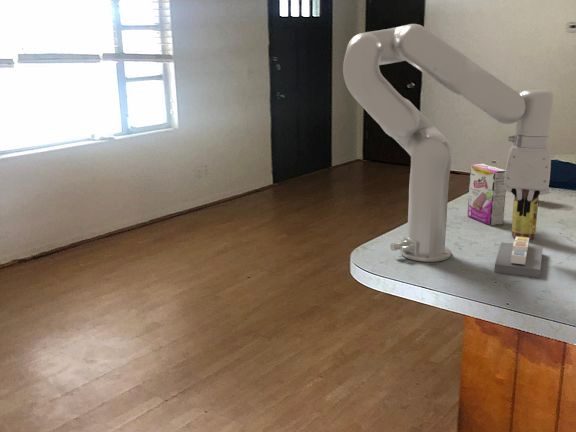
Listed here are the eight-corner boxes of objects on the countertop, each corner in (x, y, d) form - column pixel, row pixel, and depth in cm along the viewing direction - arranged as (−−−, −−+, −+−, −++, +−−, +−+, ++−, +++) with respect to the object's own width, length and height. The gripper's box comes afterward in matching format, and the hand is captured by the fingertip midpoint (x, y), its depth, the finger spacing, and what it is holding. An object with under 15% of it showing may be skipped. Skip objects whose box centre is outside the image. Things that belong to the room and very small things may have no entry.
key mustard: (527, 255, 154) (528, 240, 153) (513, 253, 155) (514, 239, 154) (527, 251, 157) (529, 237, 156) (514, 249, 158) (515, 235, 157)
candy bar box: (466, 216, 189) (469, 164, 185) (479, 214, 191) (483, 163, 187) (490, 226, 179) (494, 171, 175) (503, 224, 181) (508, 170, 177)
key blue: (524, 271, 144) (526, 255, 143) (510, 269, 145) (511, 254, 144) (525, 266, 147) (526, 251, 146) (511, 264, 148) (512, 249, 147)
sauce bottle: (536, 241, 166) (544, 169, 161) (512, 240, 167) (519, 168, 162) (532, 233, 172) (539, 164, 167) (509, 232, 174) (515, 163, 168)
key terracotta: (525, 261, 147) (527, 246, 146) (511, 259, 148) (513, 244, 147) (526, 257, 150) (528, 242, 149) (512, 255, 151) (514, 240, 150)
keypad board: (539, 277, 142) (540, 269, 141) (494, 272, 146) (494, 264, 145) (542, 254, 157) (542, 246, 156) (500, 249, 160) (501, 242, 160)
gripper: (497, 142, 147) (490, 215, 153) (564, 146, 142) (555, 222, 147) (500, 137, 154) (493, 208, 159) (564, 141, 148) (555, 214, 154)
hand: (522, 214), depth 153 cm, fingers closed
